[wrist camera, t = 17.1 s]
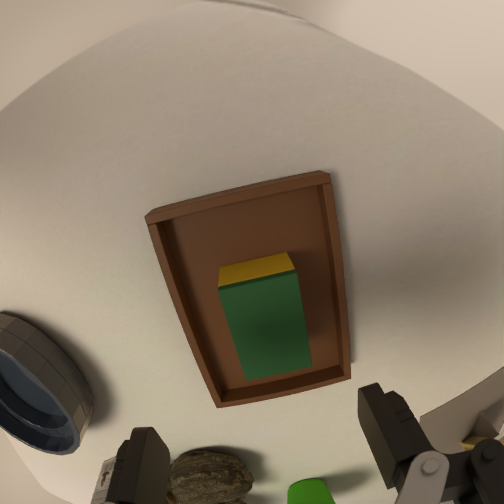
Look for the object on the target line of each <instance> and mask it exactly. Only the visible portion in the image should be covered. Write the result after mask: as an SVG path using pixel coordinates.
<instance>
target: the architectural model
mask: <svg viewBox="0 0 504 504" xmlns="http://www.w3.org/2000/svg"><path fill="white" fill-rule="evenodd" d="M503 423H504V367H503V368H501V369H500V370H498V371H497V372H496V373H494V374H493V375H491V376H490V377H488V378H487V379H485V380H484V381H482V382H481V383H479V384H478V385H476V386H475V387H473V388H471V389H470V390H468V391H467V392H465V393H463V394H462V395H460V396H458V397H456V398H455V399H453V400H451V401H449V402H448V403H446V404H444V405H442V406H440V407H439V408H437V409H435V410H433V411H431V412H429V413H427V414H425V415H423V416H421V417H420V426H421V428H422V430H423V431H424V433H425V435H426V437H427V438H428V440H429V442H430V443H431V445H432V446H433V448H434V449H436V450H437V451H439V452H441V453H445V454H454V453H459V452H463V451H468V450H472V449H473V448H474V446H475V445H476V444H477V443H478V442H480V441H482V440H484V439H488V438H493V439H496V440H499V441H500V442H501V443H502V444H503V445H504V431H503V432H502V433H501V434H499V431H500V429H501V427H502V425H503Z"/></svg>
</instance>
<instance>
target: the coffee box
mask: <svg viewBox="0 0 504 504" xmlns="http://www.w3.org/2000/svg"><path fill="white" fill-rule="evenodd" d="M115 462H116V457H114V458H112V459H109V460H107V461H104V462H103V465H102V468H101V471H100V474H99V478H98V481H97V484H96V487H95V491H94V494H93V497H92V501H91V504H100V503H103V502H104V501H105V499H106V495H107V491H108V487H109V483H110V479H111V475H112V471H113V470H114V468H113V467H114V463H115ZM170 489H171V488H170V481H169V479H168V483H167V492H166V501H165V504H179V502H178V501H176V500H175V499H174V496H173V494H172V492H171V490H170Z"/></svg>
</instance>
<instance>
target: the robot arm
mask: <svg viewBox="0 0 504 504" xmlns="http://www.w3.org/2000/svg"><path fill="white" fill-rule="evenodd" d="M358 418H359V422H360V425H361V427H362V430H363V432H364V434H365V437H366V439H367V441H368V444H369V446H370V449H371V451H372V453H373V456H374V458H375V461H376V463H377V465H378V468H379V470H380V473H381V475H382V478H383V480H384V482H385V485H386V487H387V490H388V489H390V488H393V487H396V490H397V492H398V496H397V499H396V501H395V504H440V503H441V502H446V501H450V500H453V501H454V504H504V445H503V444H502V443H501V442H500V441H499V440H496V439H493V438H488V439H484V440H482V441H480V442H478V443H477V444H476V445H475V446H474V448H473V449H472V450H468V451H463V452H459V453H454V454H445V453H441V452H439V451H437V450H436V449H434V448H433V446H432V445H431V443H430V442H429V440H428V438H427V437H426V435H425V433H424V431H423V430H422V428H421V426H420V425H419V423H418V421H417V420H416V418H415V417H414V414H413V413H412V411H411V409H409V406H408V405H407V403H406V401H405V400H404V398H403V397H402V396H400V395H399V394H397V393H396V392H394V391H390V392H388V393H385V394H384V392H383V390H382V388H381V387H380V385H379V384H378V383H373V384H370V385H367V386H364V387H361V388H359V389H358ZM169 466H170V452H169V449H168V447H167V446H166V444H165V443H164V442H163V440H162V439H161V438H160V436H159V435H158V433H157V432H156V431H155V429H154V428H153V427H136V428H134V429H133V430H132V433H131V437H130V440H125V441H124V442H123V443H122V445H121V446H120V448H119V449H118V452H117V456H116V462H115V463H114V467H113V468H114V470H113V471H112V475H111V479H110V483H109V487H108V491H107V495H106V499H105V501H104V502H103V503H100V504H165V501H166V492H167V483H168V474H169Z"/></svg>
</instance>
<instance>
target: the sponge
mask: <svg viewBox="0 0 504 504" xmlns="http://www.w3.org/2000/svg"><path fill="white" fill-rule="evenodd" d="M218 294H219V297H220V300H221V304H222V307H223V310H224V314H225V317H226V320H227V323H228V326H229V330H230V333H231V336H232V339H233V342H234V345H235V348H236V352H237V355H238V358H239V361H240V364H241V367H242V370H243V373H244V376H245V379H246V381H249V380H254V379H259V378H264V377H269V376H273V375H278V374H282V373H287V372H291V371H295V370H299V369H303V368H307V367H311V366H312V360H311V353H310V347H309V340H308V334H307V328H306V321H305V315H304V309H303V303H302V297H301V292H300V286H299V280H298V274H297V272H296V270H295V268H294V266H293V264H292V262H291V260H290V258H289V256H288V254H287V252H284V253H279V254H275V255H271V256H266V257H262V258H258V259H253V260H249V261H244V262H240V263H236V264H231V265H227V266H223V267H220V273H219V283H218Z"/></svg>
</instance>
